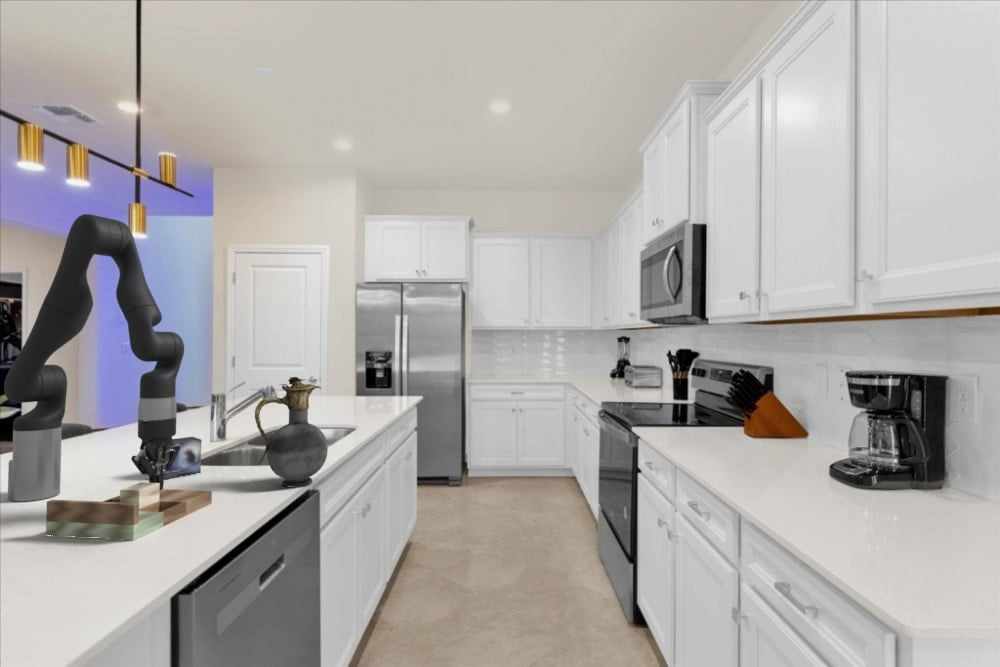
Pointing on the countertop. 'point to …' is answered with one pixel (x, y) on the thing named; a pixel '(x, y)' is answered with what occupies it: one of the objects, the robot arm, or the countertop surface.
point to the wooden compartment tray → (121, 515)
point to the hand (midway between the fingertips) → (156, 490)
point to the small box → (186, 458)
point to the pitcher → (294, 437)
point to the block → (141, 494)
